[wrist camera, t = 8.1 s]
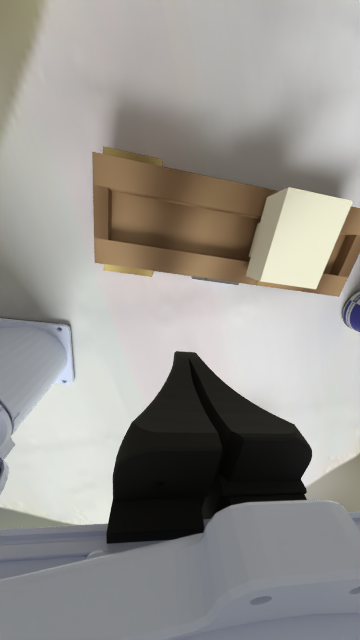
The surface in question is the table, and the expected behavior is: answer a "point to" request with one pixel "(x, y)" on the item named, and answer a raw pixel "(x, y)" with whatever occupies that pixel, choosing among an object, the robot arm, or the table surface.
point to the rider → (296, 237)
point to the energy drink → (352, 312)
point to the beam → (190, 223)
